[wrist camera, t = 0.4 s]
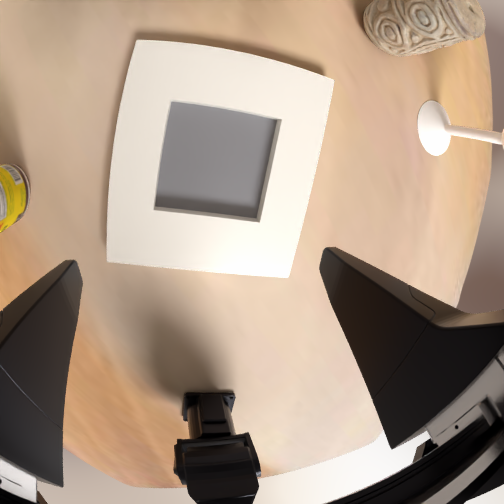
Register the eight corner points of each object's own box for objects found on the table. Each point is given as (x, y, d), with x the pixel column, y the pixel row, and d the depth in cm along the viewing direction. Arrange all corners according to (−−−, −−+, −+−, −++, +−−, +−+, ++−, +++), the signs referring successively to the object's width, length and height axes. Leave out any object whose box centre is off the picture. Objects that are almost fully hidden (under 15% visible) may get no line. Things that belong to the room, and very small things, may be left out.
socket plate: (283, 270, 26) (288, 277, 25) (110, 254, 22) (106, 261, 21) (326, 82, 20) (334, 80, 19) (139, 45, 16) (136, 39, 14)
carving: (399, 12, 18) (480, -10, 7) (405, 67, 21) (497, 60, 10) (352, -8, 16) (431, -49, 6) (357, 51, 19) (453, 24, 9)
